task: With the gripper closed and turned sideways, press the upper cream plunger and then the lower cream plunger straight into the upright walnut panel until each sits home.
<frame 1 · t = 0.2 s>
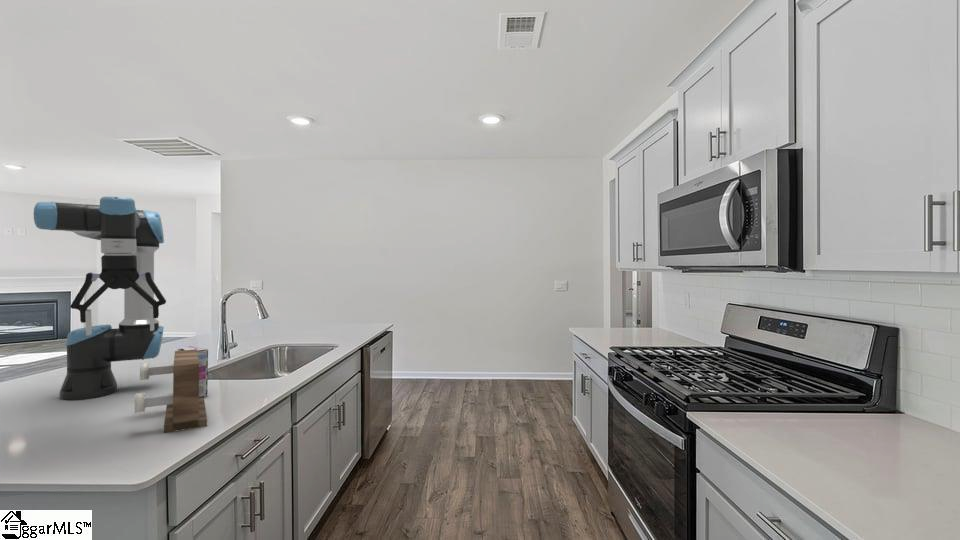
hand: (121, 332, 123), 27 cm above the countertop, tool pointing down, fingers open, 13 cm apart
candy bar box: (192, 396, 157), on the countertop
lower plunger: (161, 399, 125), point 8 cm above the countertop, slide at 0.0 cm
upper plunger: (163, 369, 140), point 13 cm above the countertop, slide at 0.0 cm
walnut panel: (185, 416, 135), on the countertop
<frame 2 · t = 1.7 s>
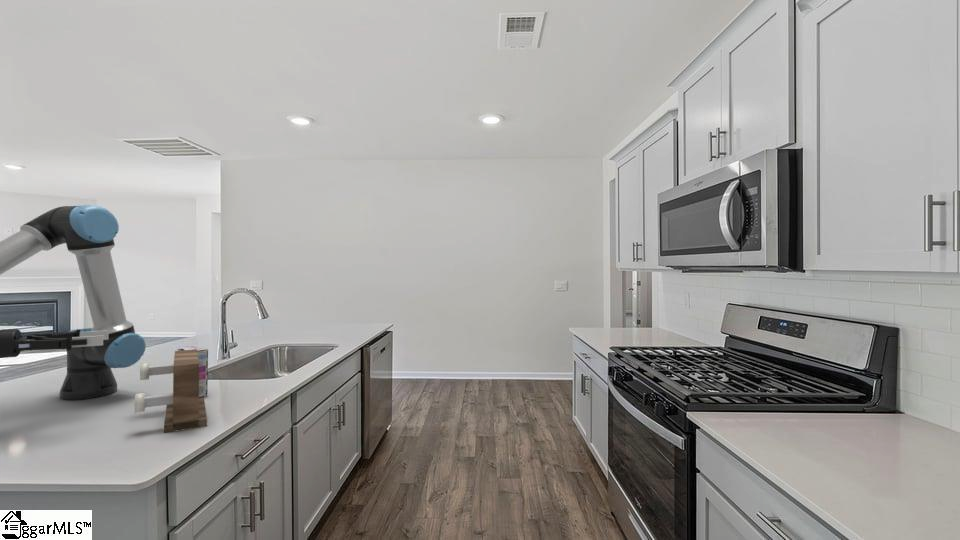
hand: (105, 337, 132), 24 cm above the countertop, tool horizontal, fingers open, 10 cm apart
nothing on the countertop moved.
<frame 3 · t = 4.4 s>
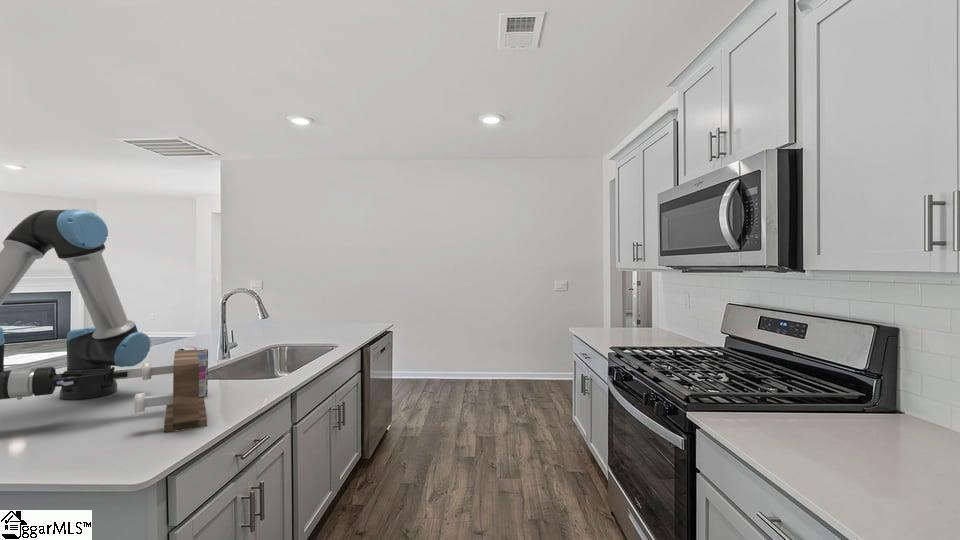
hand: (141, 372, 136), 13 cm above the countertop, tool horizontal, fingers closed
upper plunger: (165, 369, 140), point 13 cm above the countertop, slide at 0.5 cm, touching gripper
everything else where it was.
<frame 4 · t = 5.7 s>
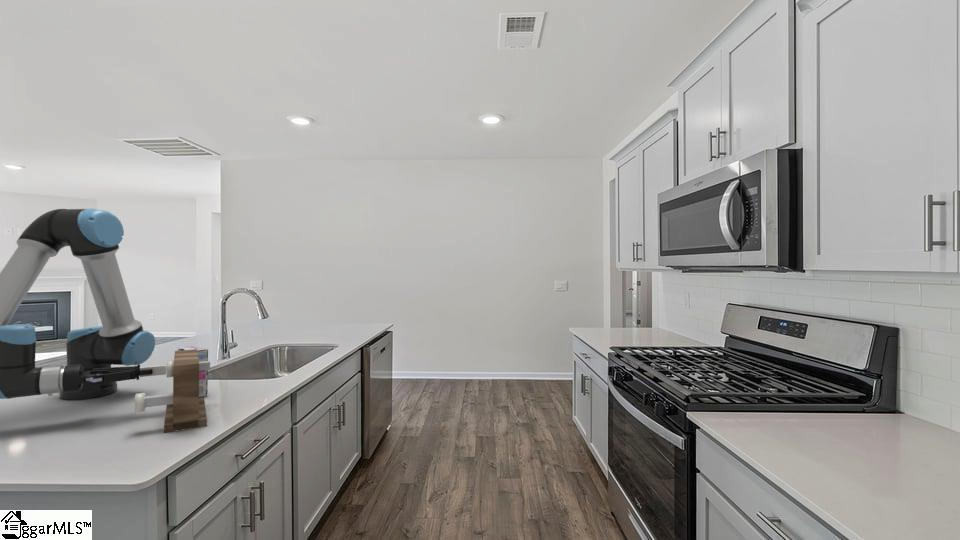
hand: (166, 369, 140), 13 cm above the countertop, tool horizontal, fingers closed
upper plunger: (188, 367, 143), point 13 cm above the countertop, slide at 6.5 cm, touching gripper, walnut panel
everything else where it was.
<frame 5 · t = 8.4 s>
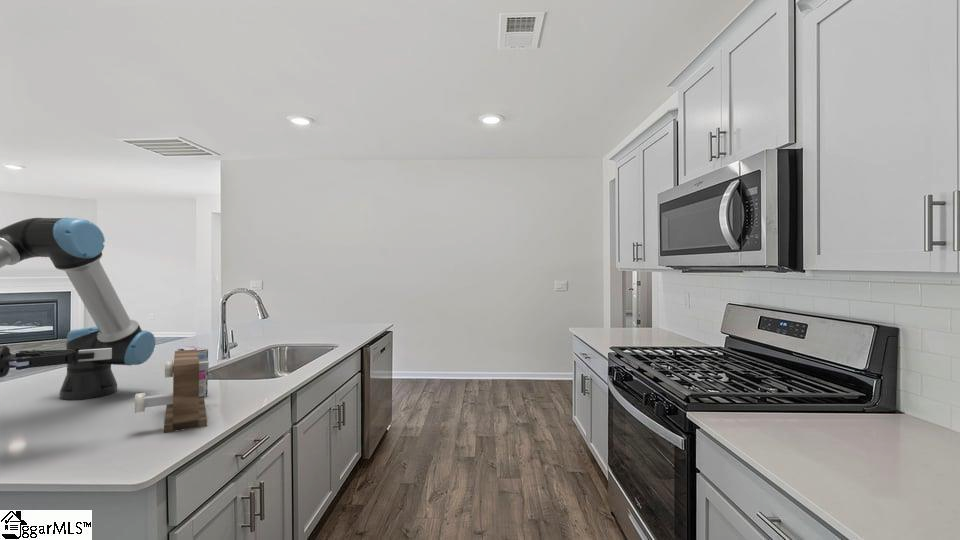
hand: (111, 353, 119), 22 cm above the countertop, tool horizontal, fingers closed
upper plunger: (187, 367, 143), point 13 cm above the countertop, slide at 6.1 cm
everything else where it was.
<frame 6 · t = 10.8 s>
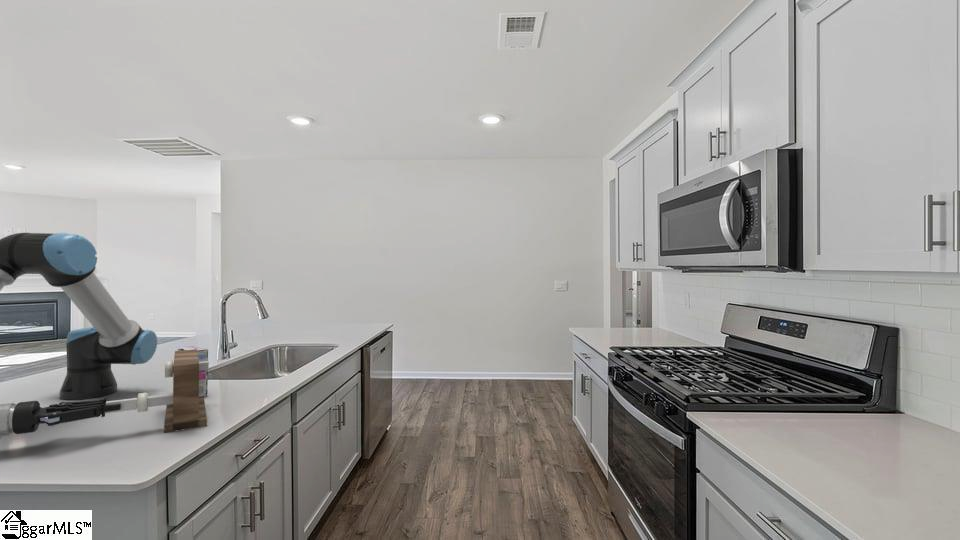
hand: (136, 403, 122), 8 cm above the countertop, tool horizontal, fingers closed
lower plunger: (164, 399, 126), point 8 cm above the countertop, slide at 0.6 cm, touching gripper
everything else where it was.
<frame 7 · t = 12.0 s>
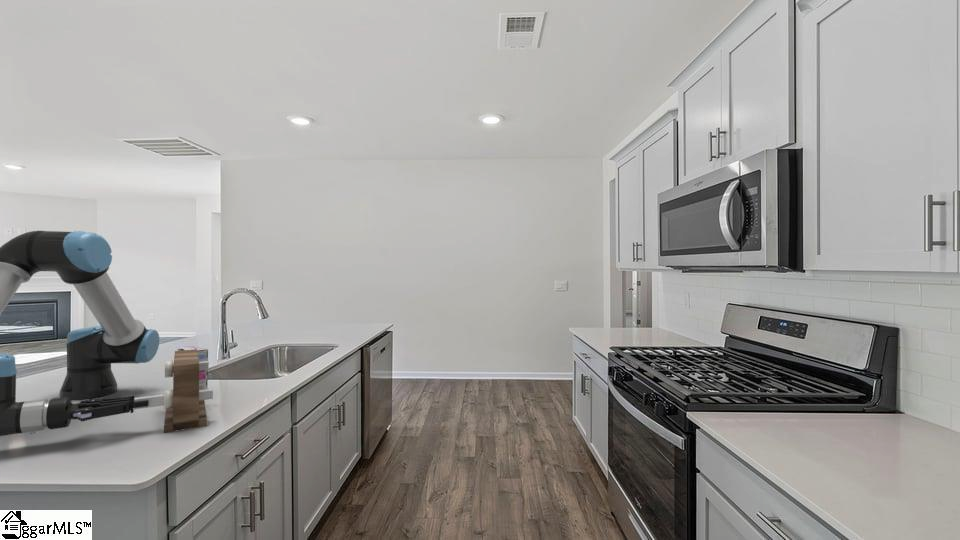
hand: (163, 400, 125), 8 cm above the countertop, tool horizontal, fingers closed
lower plunger: (189, 396, 129), point 8 cm above the countertop, slide at 6.5 cm, touching gripper
everything else where it was.
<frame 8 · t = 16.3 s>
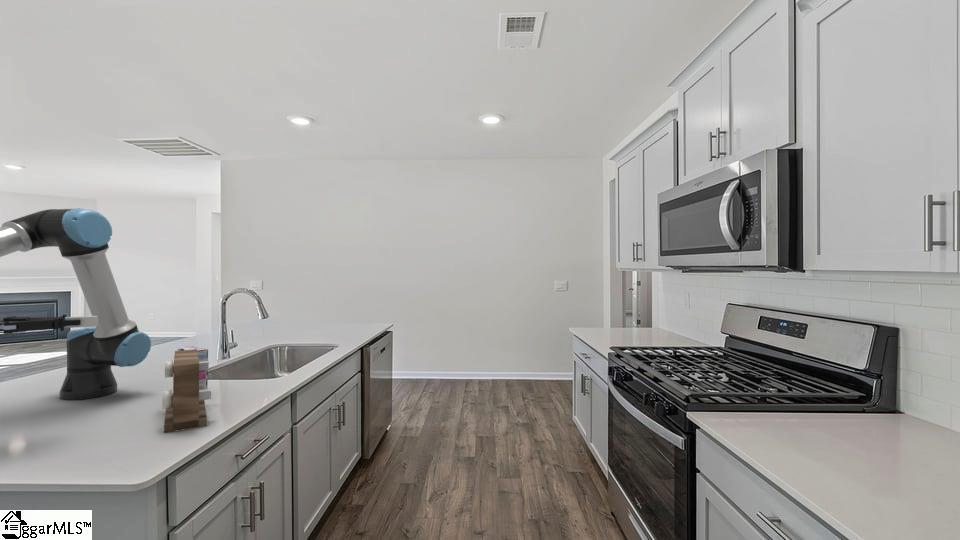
hand: (97, 321, 123), 30 cm above the countertop, tool horizontal, fingers closed
lower plunger: (187, 396, 129), point 8 cm above the countertop, slide at 6.1 cm
everything else where it was.
at the end: upper plunger slide at 6.1 cm; lower plunger slide at 6.1 cm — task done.
